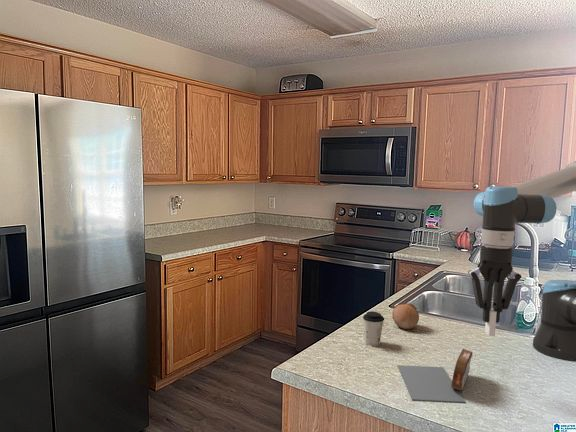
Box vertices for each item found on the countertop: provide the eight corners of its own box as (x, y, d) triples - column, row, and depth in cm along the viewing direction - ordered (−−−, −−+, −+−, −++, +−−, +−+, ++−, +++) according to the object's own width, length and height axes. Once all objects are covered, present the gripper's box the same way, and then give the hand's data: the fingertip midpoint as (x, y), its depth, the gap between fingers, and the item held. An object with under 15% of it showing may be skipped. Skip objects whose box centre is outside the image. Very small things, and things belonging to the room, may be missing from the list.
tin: (459, 371, 123) (462, 343, 122) (471, 375, 121) (474, 346, 120) (449, 393, 110) (452, 361, 109) (462, 397, 108) (466, 365, 107)
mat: (442, 368, 125) (442, 367, 125) (465, 402, 106) (465, 401, 106) (397, 366, 126) (397, 365, 126) (412, 400, 107) (412, 399, 107)
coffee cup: (386, 346, 140) (387, 317, 139) (366, 348, 139) (367, 317, 137) (378, 338, 147) (379, 310, 145) (359, 339, 145) (360, 311, 144)
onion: (410, 333, 160) (420, 308, 162) (415, 335, 151) (426, 309, 152) (386, 322, 162) (396, 297, 163) (390, 323, 153) (400, 297, 154)
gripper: (476, 247, 108) (469, 338, 110) (529, 249, 107) (521, 340, 109) (465, 242, 115) (459, 327, 118) (515, 244, 115) (508, 330, 117)
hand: (489, 333), depth 114 cm, fingers closed
